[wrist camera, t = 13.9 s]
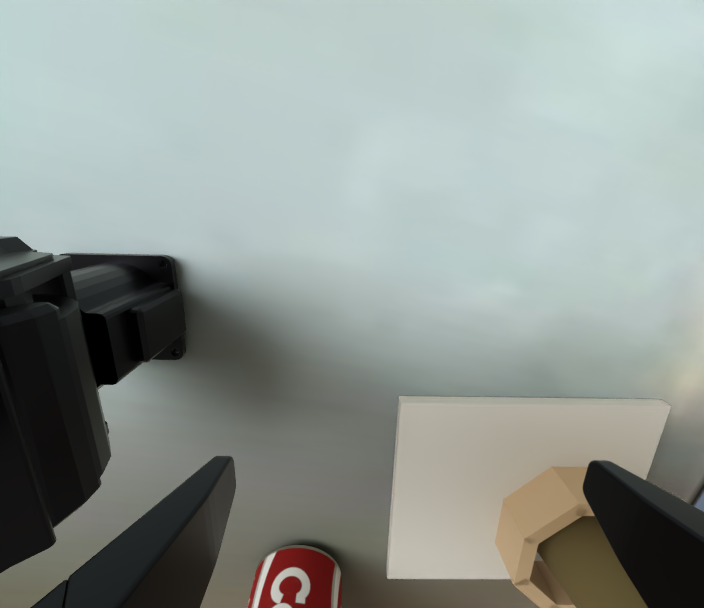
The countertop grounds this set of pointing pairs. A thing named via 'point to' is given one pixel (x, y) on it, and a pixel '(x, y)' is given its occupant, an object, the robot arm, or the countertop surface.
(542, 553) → the cork
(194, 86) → the countertop surface
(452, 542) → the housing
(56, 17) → the countertop surface
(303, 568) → the soda can
